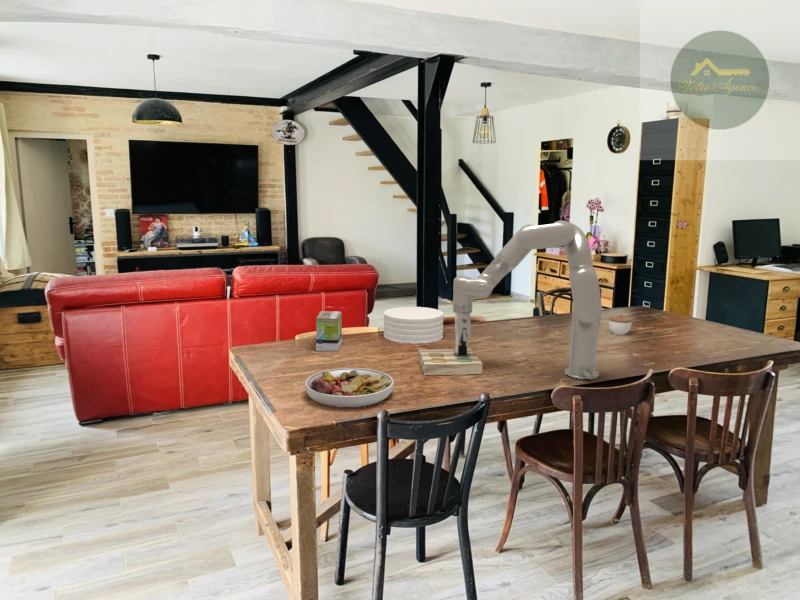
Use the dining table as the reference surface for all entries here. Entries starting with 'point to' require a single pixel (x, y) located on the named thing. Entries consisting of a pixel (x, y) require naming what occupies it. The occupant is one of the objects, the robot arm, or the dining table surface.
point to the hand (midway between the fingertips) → (461, 353)
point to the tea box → (328, 331)
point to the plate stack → (413, 325)
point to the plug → (458, 347)
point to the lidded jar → (620, 324)
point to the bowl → (349, 387)
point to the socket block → (449, 362)
